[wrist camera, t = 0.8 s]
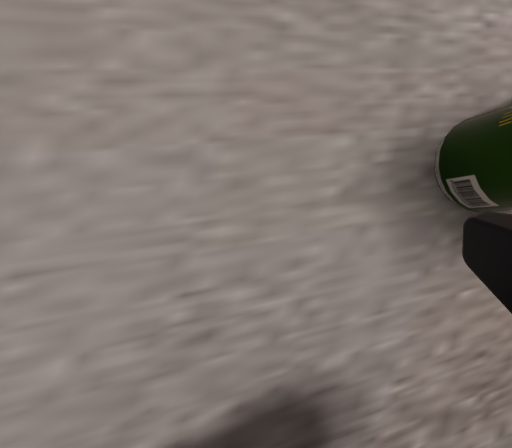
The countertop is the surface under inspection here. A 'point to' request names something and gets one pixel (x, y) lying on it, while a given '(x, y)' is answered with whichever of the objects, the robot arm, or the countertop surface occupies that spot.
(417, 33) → the countertop surface
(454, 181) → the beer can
